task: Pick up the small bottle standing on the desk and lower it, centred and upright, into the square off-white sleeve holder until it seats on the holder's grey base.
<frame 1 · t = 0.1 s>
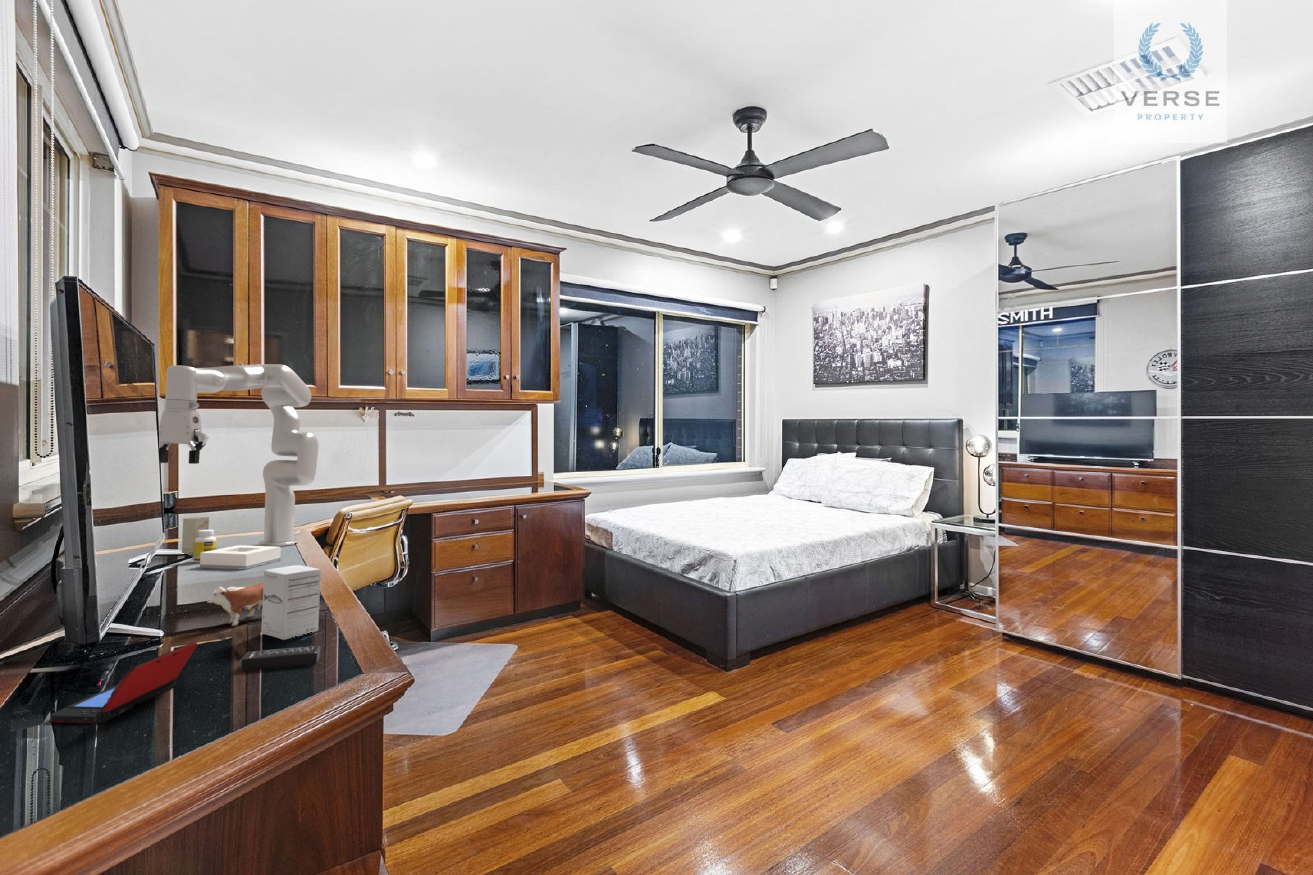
hand: (178, 463, 181), 31 cm above the table, tool pointing down, fingers open, 9 cm apart
supplement bottle: (204, 562, 189), on the table
sleeve holder: (241, 564, 186), on the table
handheld game console: (127, 706, 85), on the table
supplement box: (290, 634, 119), on the table
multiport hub: (281, 666, 102), on the table
skincare box: (194, 554, 202), on the table
bull figurine: (241, 622, 126), on the table
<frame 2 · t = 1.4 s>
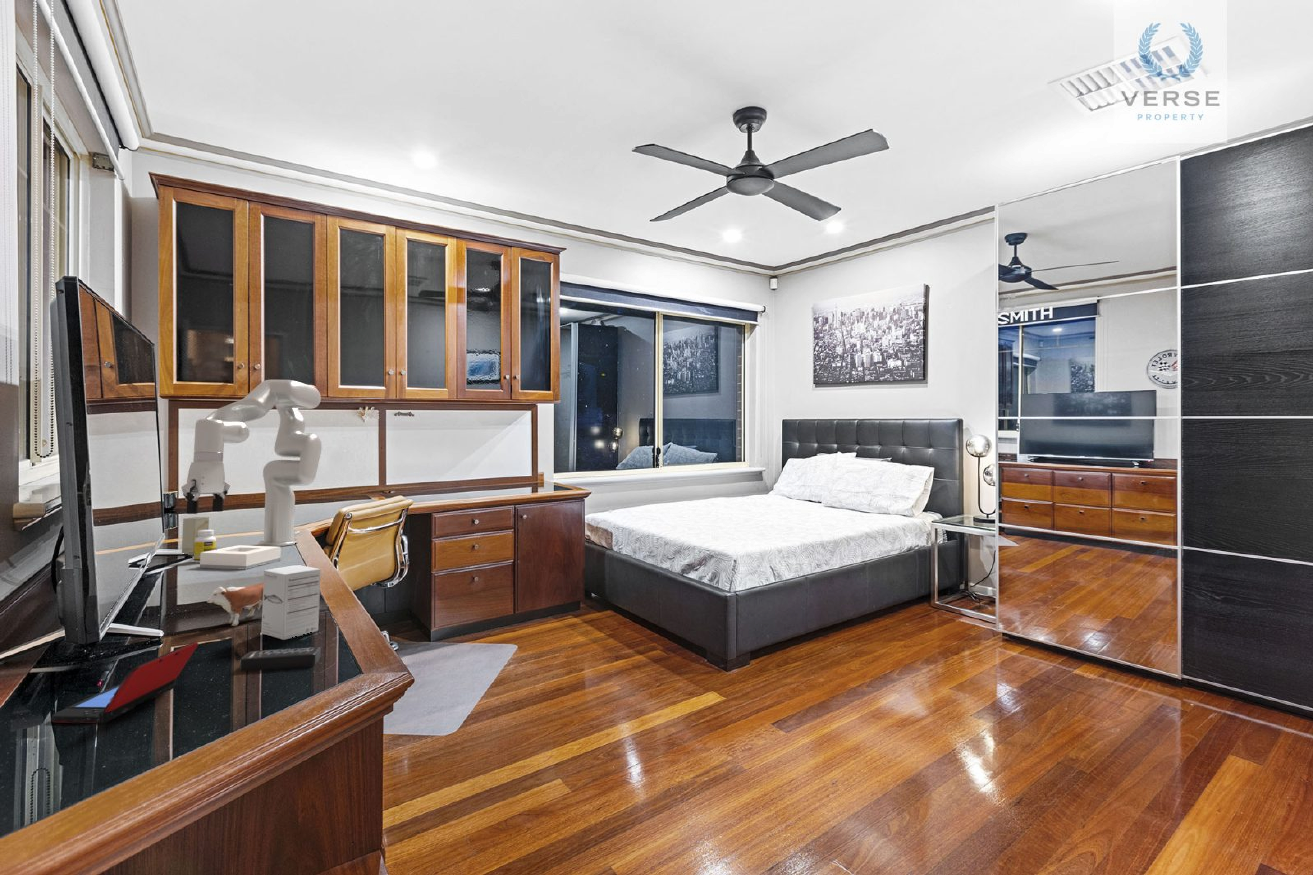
hand: (205, 512, 189), 15 cm above the table, tool pointing down, fingers open, 9 cm apart
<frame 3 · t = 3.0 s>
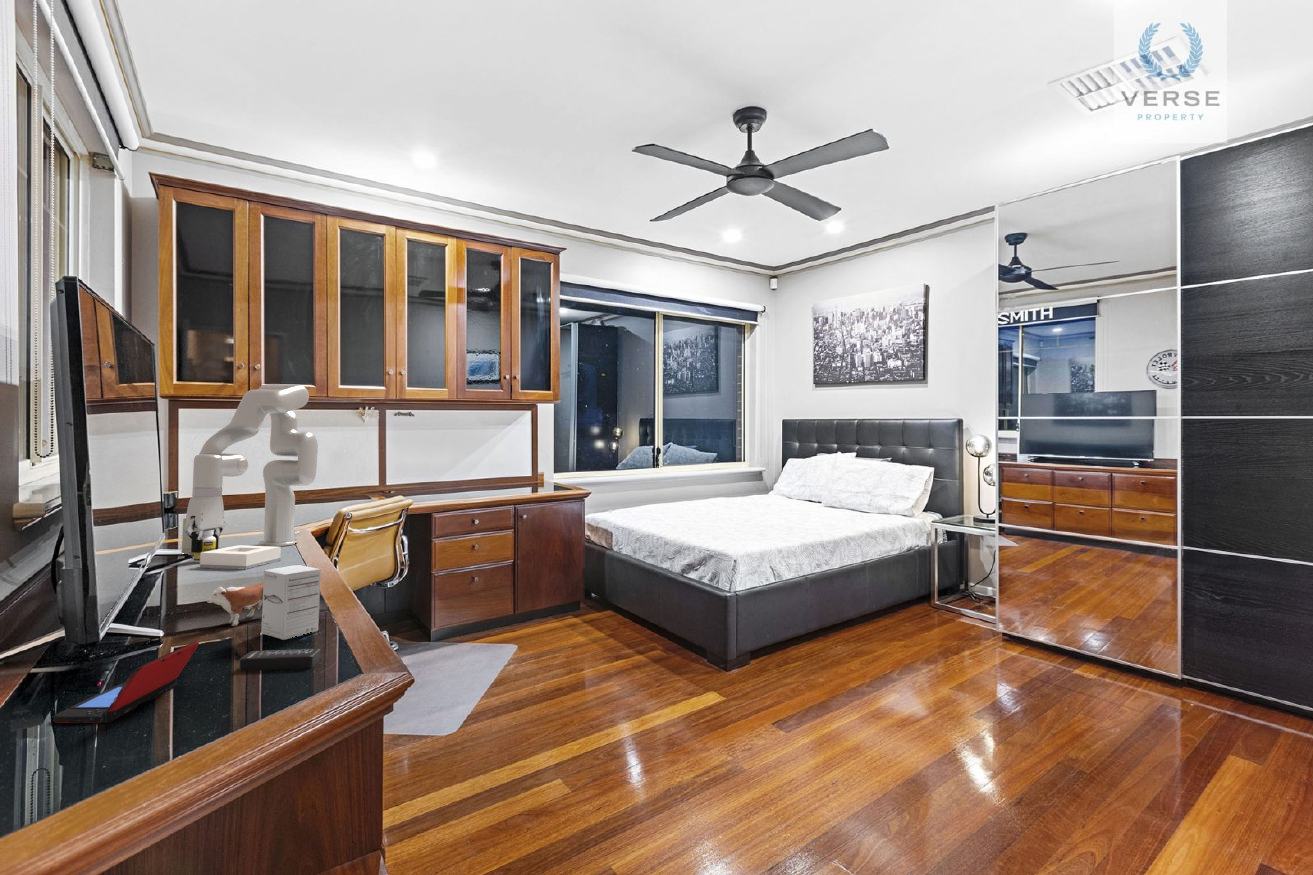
hand: (204, 550, 189), 4 cm above the table, tool pointing down, fingers closed on supplement bottle, 5 cm apart
supplement bottle: (204, 562, 189), on the table, touching gripper
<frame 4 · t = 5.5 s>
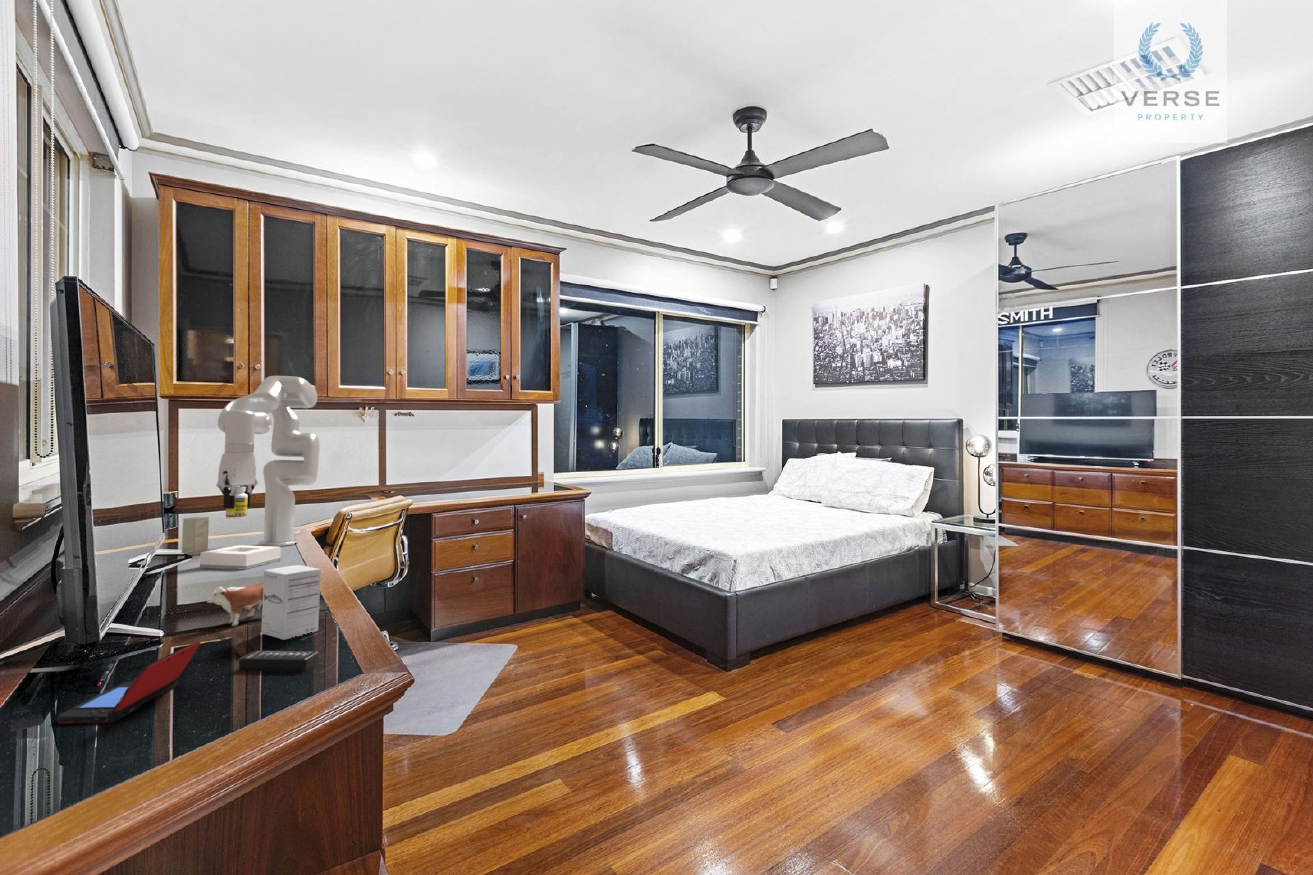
hand: (236, 507, 187), 18 cm above the table, tool pointing down, fingers closed on supplement bottle, 5 cm apart
supplement bottle: (236, 519, 187), point 14 cm above the table, touching gripper
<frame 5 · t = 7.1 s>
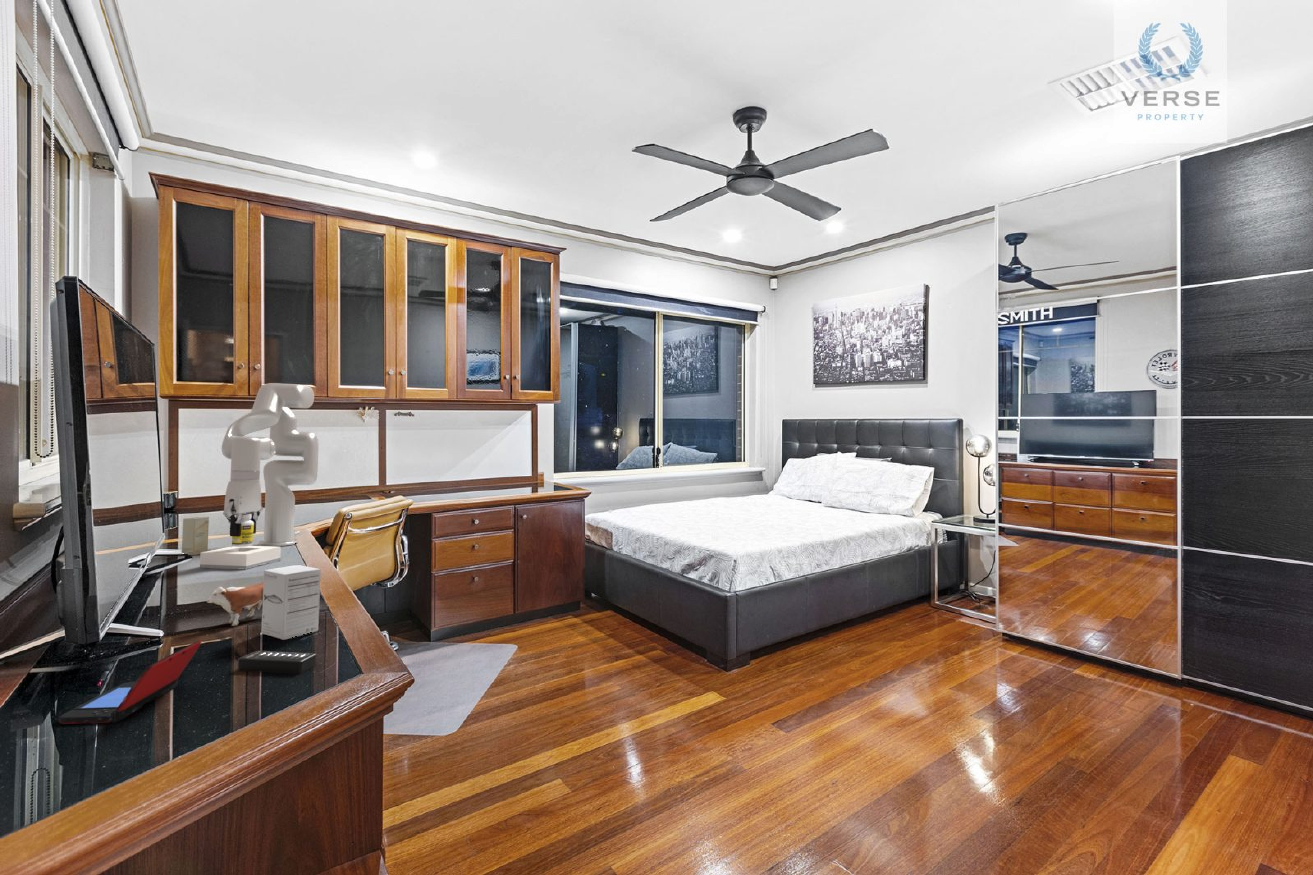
hand: (242, 534, 186), 9 cm above the table, tool pointing down, fingers closed on supplement bottle, 5 cm apart
supplement bottle: (242, 546, 186), point 5 cm above the table, touching gripper
when the fingers open (6 cm above the table, at t = 8.2 s): supplement bottle drops 1 cm, resting on sleeve holder.
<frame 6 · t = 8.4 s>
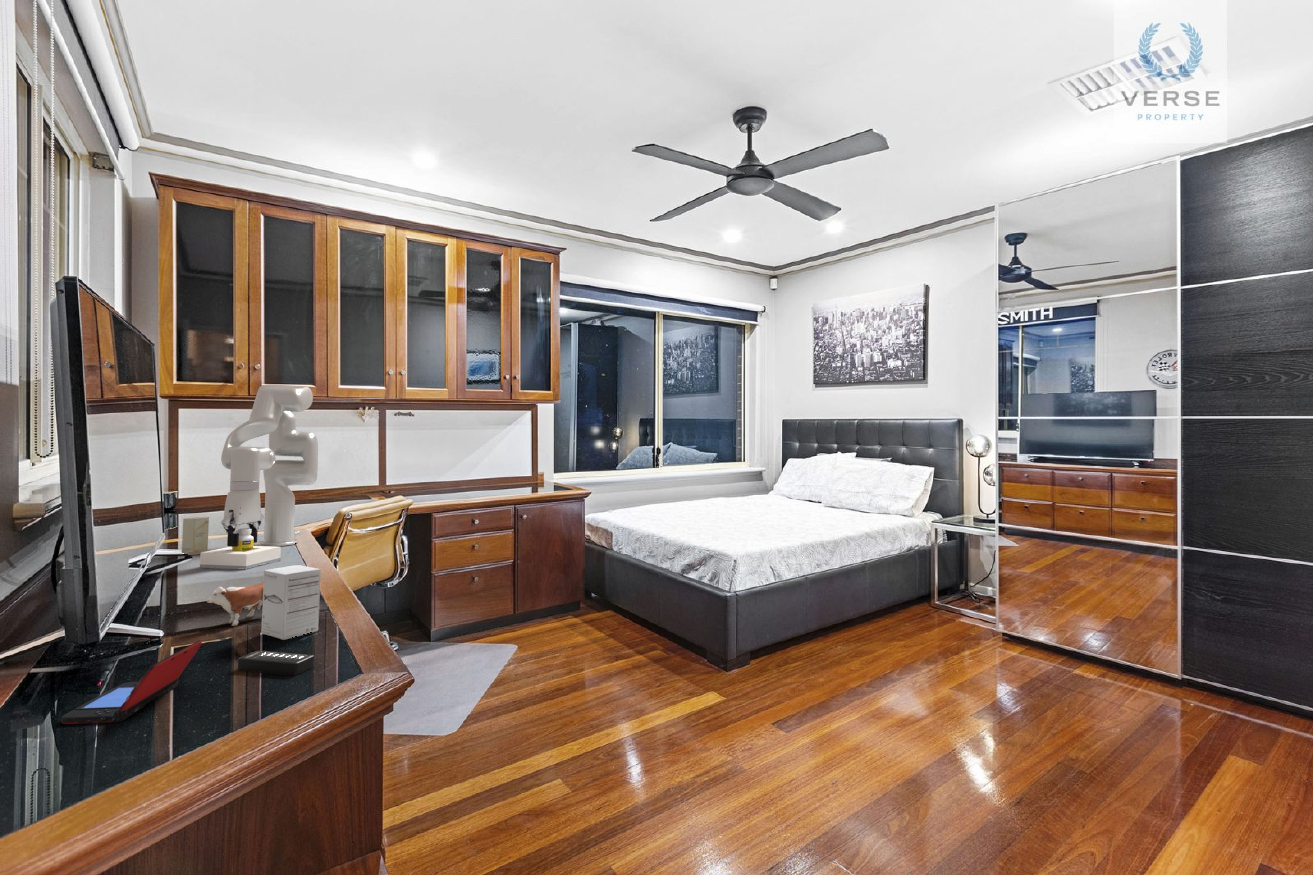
hand: (242, 544, 186), 6 cm above the table, tool pointing down, fingers open, 7 cm apart
supplement bottle: (242, 561, 186), point 1 cm above the table, touching sleeve holder
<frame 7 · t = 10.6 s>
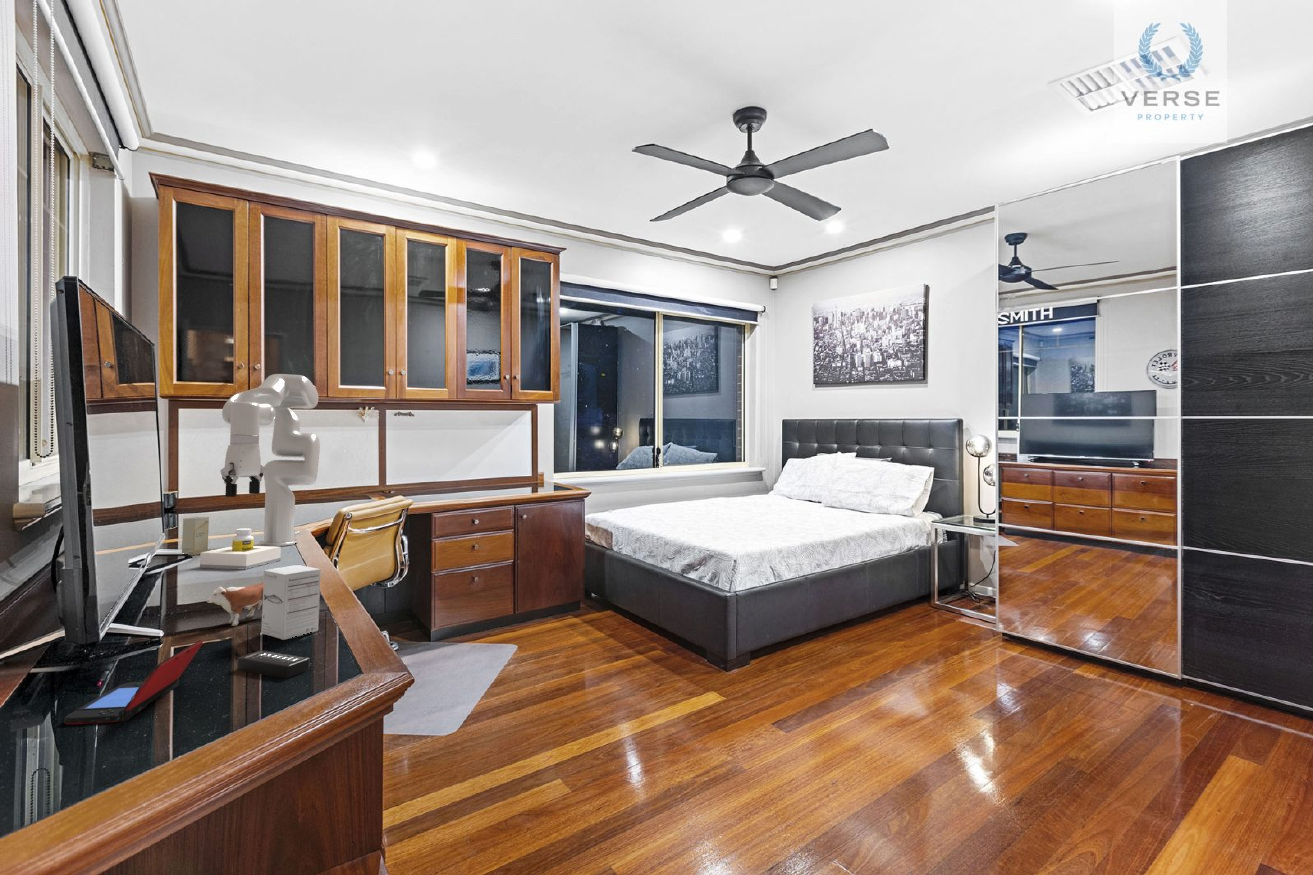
hand: (242, 495, 189), 21 cm above the table, tool pointing down, fingers open, 9 cm apart
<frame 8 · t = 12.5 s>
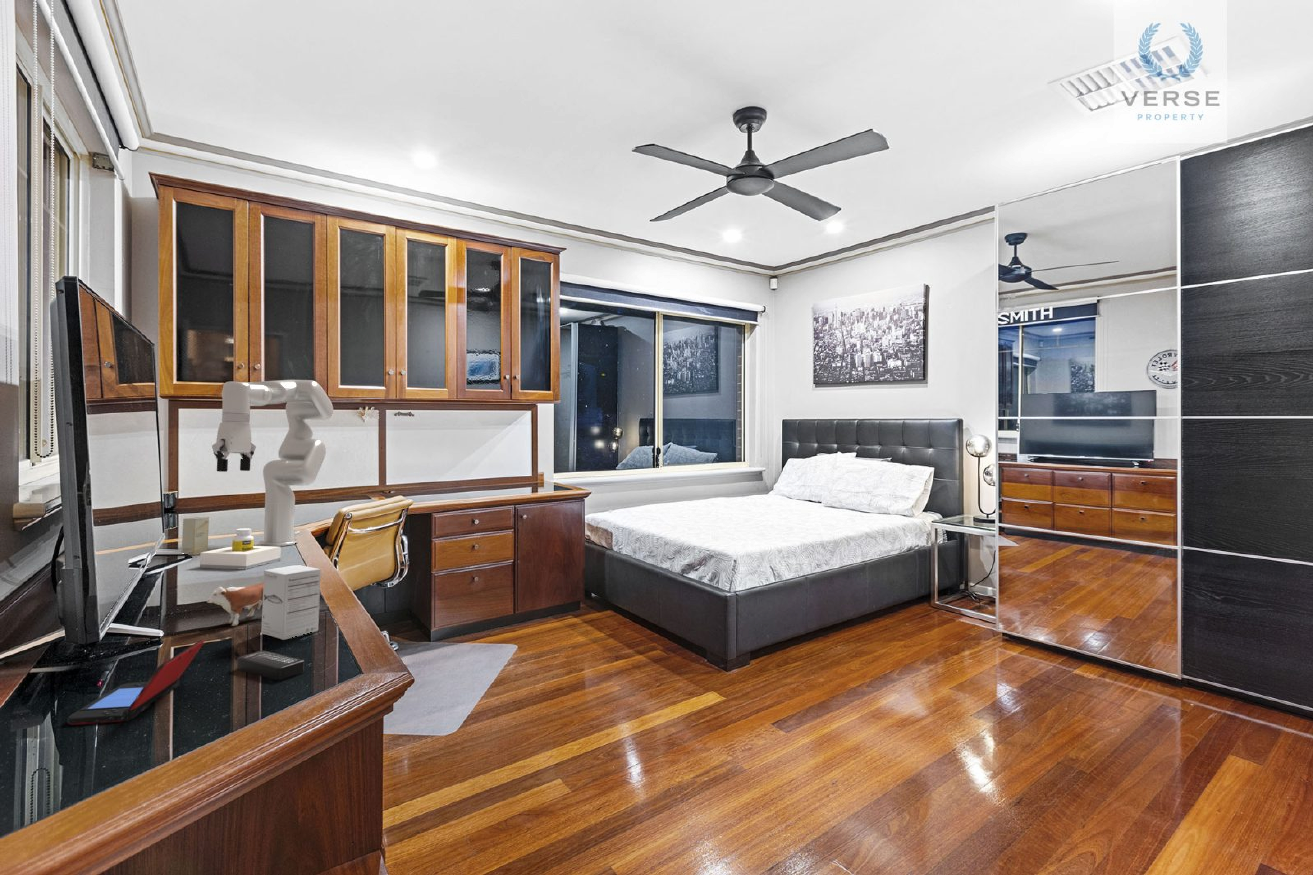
hand: (233, 471, 198), 28 cm above the table, tool pointing down, fingers open, 9 cm apart
at the end: supplement bottle 0.3 cm off-centre on the sleeve holder, point 0.8 cm above the sleeve holder's base; supplement bottle tilted 0°; the gripper is holding nothing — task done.
